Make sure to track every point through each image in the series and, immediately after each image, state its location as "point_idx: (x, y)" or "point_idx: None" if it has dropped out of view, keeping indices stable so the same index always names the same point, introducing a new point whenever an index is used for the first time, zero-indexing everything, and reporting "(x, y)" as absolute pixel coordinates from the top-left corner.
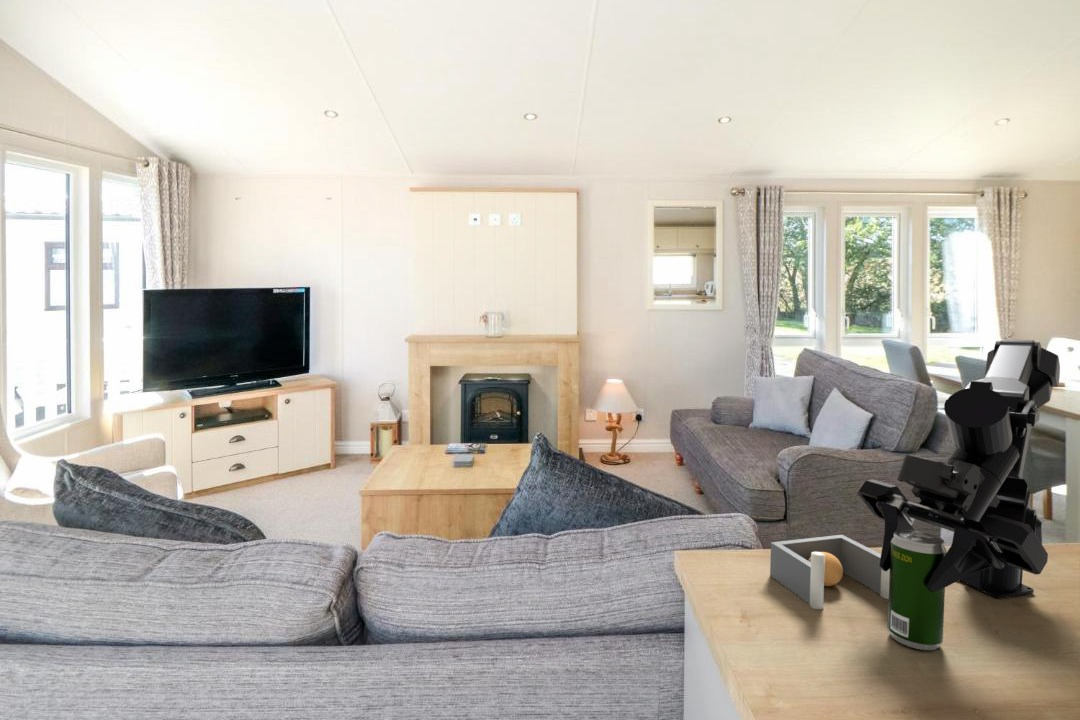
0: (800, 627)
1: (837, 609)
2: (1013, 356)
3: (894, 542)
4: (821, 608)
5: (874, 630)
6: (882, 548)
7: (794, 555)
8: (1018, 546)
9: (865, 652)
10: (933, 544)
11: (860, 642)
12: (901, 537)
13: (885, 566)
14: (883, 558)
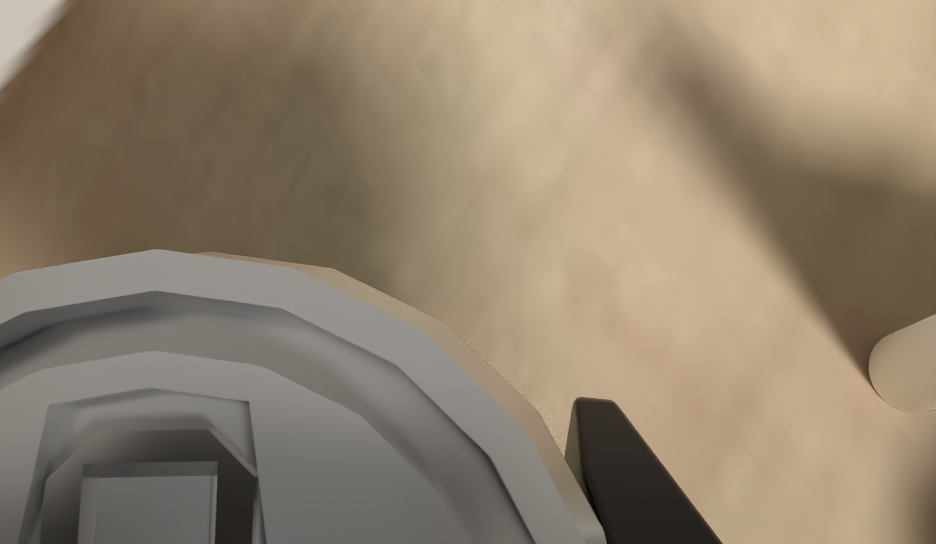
0: (763, 90)
1: (828, 464)
2: None
3: (430, 327)
4: (870, 365)
5: (552, 432)
6: (699, 520)
7: None
8: None
9: (440, 178)
10: None
11: (511, 240)
12: (285, 302)
13: (569, 449)
14: (611, 445)
